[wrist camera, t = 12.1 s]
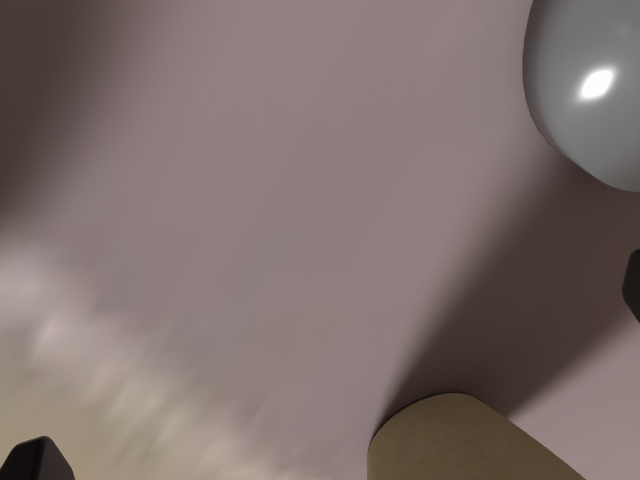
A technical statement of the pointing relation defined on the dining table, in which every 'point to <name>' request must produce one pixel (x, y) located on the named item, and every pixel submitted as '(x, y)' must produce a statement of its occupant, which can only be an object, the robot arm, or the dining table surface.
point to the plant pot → (459, 445)
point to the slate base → (587, 84)
